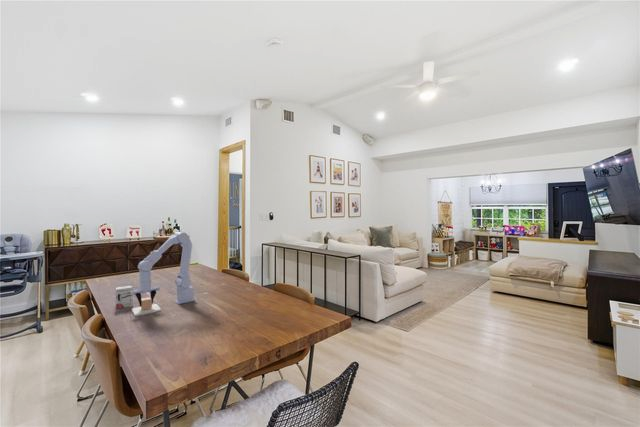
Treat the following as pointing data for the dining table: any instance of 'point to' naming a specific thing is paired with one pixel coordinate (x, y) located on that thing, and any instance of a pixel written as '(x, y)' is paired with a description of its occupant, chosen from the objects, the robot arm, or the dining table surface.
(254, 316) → the dining table surface
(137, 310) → the mat
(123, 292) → the ink box
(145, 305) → the cube
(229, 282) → the dining table surface
